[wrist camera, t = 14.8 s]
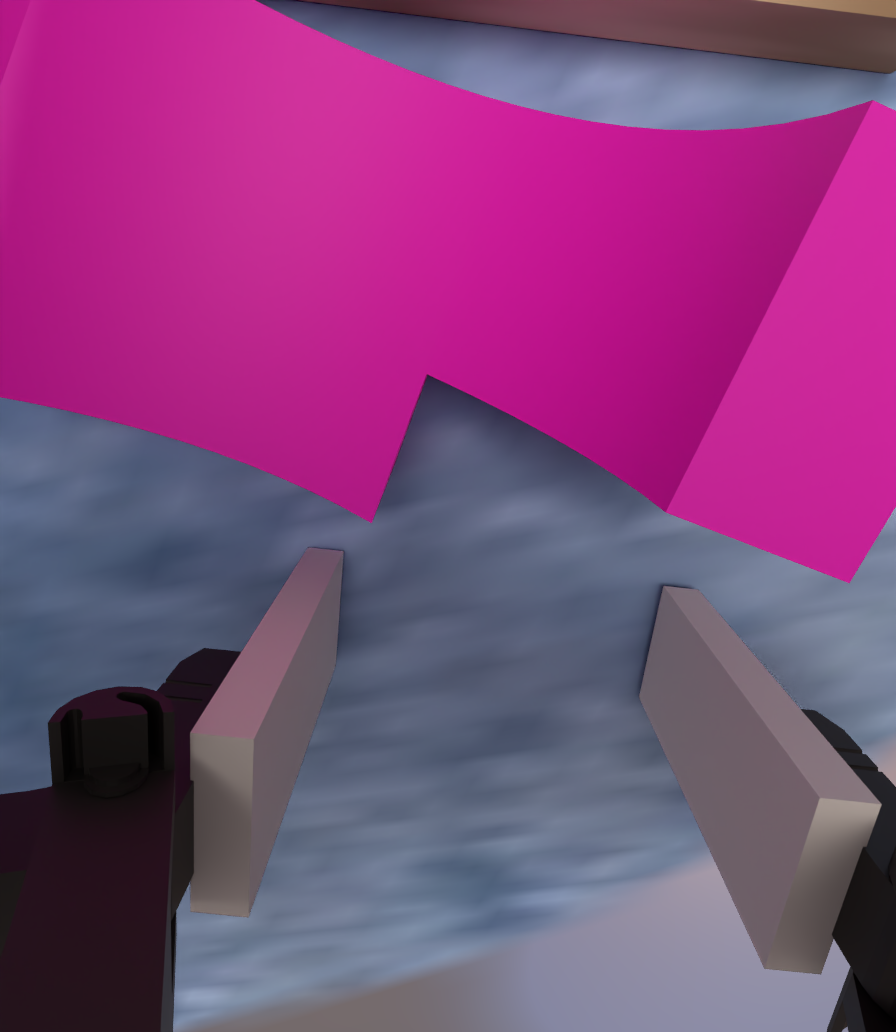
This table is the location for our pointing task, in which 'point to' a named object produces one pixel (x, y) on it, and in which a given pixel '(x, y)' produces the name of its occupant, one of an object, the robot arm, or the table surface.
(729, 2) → the board
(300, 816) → the table surface
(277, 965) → the table surface
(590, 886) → the table surface
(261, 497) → the table surface
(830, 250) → the toy block
